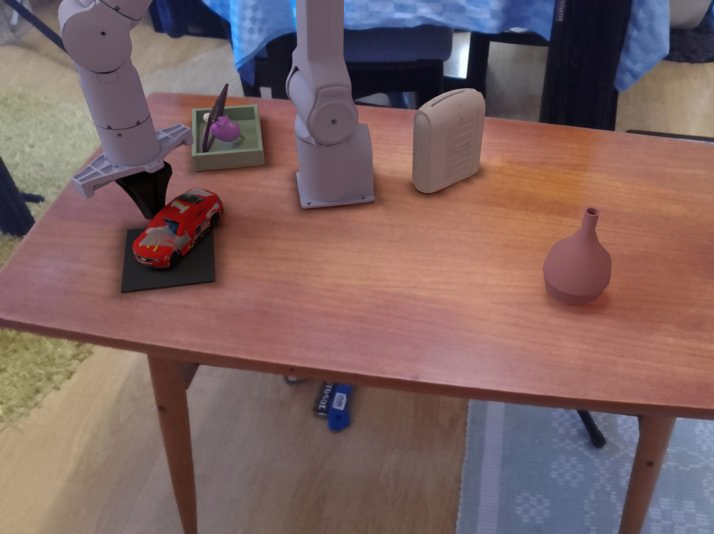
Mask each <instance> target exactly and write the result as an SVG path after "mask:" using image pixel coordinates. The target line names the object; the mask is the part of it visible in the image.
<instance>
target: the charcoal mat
mask: <svg viewBox="0 0 714 534" xmlns="http://www.w3.org/2000/svg"><path fill="white" fill-rule="evenodd" d="M146 228H147V227H139V228H130V229H126V238H125V245H124V246H125V247H124V255H123V265H122V276H121V283H120V293H121V294H122V293H130V292H131V293H133V292H139V291H148V290H157V289H166V288H171V287H172V288H173V287H182V286H190V285H199V284H206V283H215V251H214V249H215V246H214V243H215V242H214V228H212V227H211V229H210V230H209V231H208V232H207V233H206V234H205V235H204V236H203V237H202V238H201V239H200V240H199V241H198V242H197V243H196V244H195V245H194V246H193V247H192V248H191V249H190V250H189V251H188V252H187V253H186V254H185V255H184V256H182V255H181V260H180V262H179V264H178V265H176V266H171V265H170V267H166V268H149V267H145V266H143V265H141V264H140V263H139V262H138V261H137V260H136V257H135V255H134V252H133V243H134V241H135V240H136V239H137V238H138V237H139V236H140V235H141V234H142V233H143V232H144V230H145V229H146Z"/></svg>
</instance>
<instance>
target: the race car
mask: <svg viewBox="0 0 714 534" xmlns="http://www.w3.org/2000/svg"><path fill="white" fill-rule="evenodd" d="M224 213H225V208H224V204H223V201H222V200H221V198H220V196H219V195H218V194H217V193H215V192H213V191H210V190H207V189H204V188H199V187H197V188H196V187H195V188H191V189H189V190H187V191H185V192H182V193H180V194H179V195H177V196H176V197H174V198H173V199H171V200H170V201H169V202H168V203H166V204H165V207H164V208H163V209H162V210H161V211H160V212H159V213H158V214H157V215H156V216H155V217H154V218H153V220H151V219H146V221H147V222H148V223H149V224H148V226H146V227H145V228H146V229H145V230H144V232H143V233H142V234H141V235H140V236H139V237H138V238H137V239H136V240H135V241H134V243H133V252H134V255H135V257H136V260H137V261H138V262H139V263H140V264H141V265H143V266H145V267H149V268H166V267H170V265H171V266H176V265H178V264H179V262H180V260H181V255H182V256H184V255H185V254H186V253H187V252H188V251H189V250H190V249H191V248H192V247H193V246H194V245H195V244H196V243H197V242H198V241H199V240H200V239H201V238H202V237H203V236H204V235H205V234H206V233H207V232H208V231H209V230H210V229H211V227H212V228H213V229H214V228H216V227H218V225H219V222H220V219H222V218H223V216H224Z"/></svg>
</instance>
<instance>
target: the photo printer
mask: <svg viewBox="0 0 714 534" xmlns="http://www.w3.org/2000/svg"><path fill="white" fill-rule="evenodd" d="M486 108H487V107H486V100H485V98H484V96H483V93H482V92H481V91H477V90H476V89H475V88H468V87H467V88H466V87H465V88H457V89H453V90H450V91H447V92H444V93H441V94H439V95H438V96H435V97H433V98H432V99H430V100H429V101H427V102H425V103H424V104H422V105H421V106H420V107H419V108H418V109H417V110H416V112H415V113H414V116H413V130H412V131H413V132H412V133H413V134H412V136H413V137H412V162H411V163H412V167H411V170H412V171H411V179H412V183H413V186H414V188H415V189H416V190H417V191H419V192H421V193H423V194H432V193H435V192H438V191H440V190H443V189H445V188H447V187H449V186H451V185H454V184H456V183H458V182H461V181H463V180H465V179H467V178H469V177H471V176H473V175H475V174H477V173H478V171H479V169H480V163H481V154H482V145H483V136H484V135H483V134H484V127H485V116H486Z"/></svg>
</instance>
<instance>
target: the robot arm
mask: <svg viewBox="0 0 714 534" xmlns="http://www.w3.org/2000/svg"><path fill="white" fill-rule="evenodd" d="M153 1H154V0H62V1H61V3H60V4H59V6H58V9H57V10H58V11H57V19H58V21H57V24H58V26H59V30H60V35H61V41H62V44H63V47H64V49H65V51H66V53H67V55H68V56H69V58H70V59H71V60H72V64H73V67H74V70H75V71H76V74H78V78H77V79H78V83H79V87H80V89H81V91H82V95H83V97H84V100H85V103H86V105H87V109H88V111H89V114H90V117H91V120H92V122H93V124H94V125H93V126H94V128H95V130H96V133H97V135H98V138H99V141H100V144H101V146H102V149H103V151H102V152H101V153H100V154H99V155H98V156H96V157H95V158H94V159H93V160H92V161H91V162H90V163H88V164H87V165H86V166H85V167H84V168H83V169H82V170H80V171H79V172H77V173H76V174H74V175H72V176H70V178H69V179H70V182H71V183H72V186H73V188H74V190H75V193H77V194H78V195H80V196H81V197H83V198H84V199H86V200H88V199H91V198H92V197H94V196H95V195H96V193H95V192H96V191H97V190H99V189H102V188H103V187H106V186H107V185H110V184H111V183H113V182H114V183H116V184H117V186H119V187H120V188H121V189H122V190H123V191H124V192H125V193H126V194H127V195H128V196H129V198H130V199H131V200H132V201H133V202H134V204H135V205H136V206H137V208H138V209H139V211H140V212H141V214H142V216H143V218H144V219H146V220H147V219H151V220H153V218H154V217H155V216H156V215H157V214H158V213H159V212H160V211H161V210H162V209H163V208H164V207H165V206H166V198H167V192H168V191H167V190H168V186H169V183H170V180H171V178H172V175H173V172H174V171H173V167H172V165H171V163H169V162H168V161H165V160H164V159H165V158H167V156H168V155H169V154H170V153H172V152H173V151H174V150H176V149H179V147H181V146H183V145H184V146H186V147H189V146H192V144H193V143H194V140H193V136H192V128H191V127H188V126H187V125H184V124H182V123H181V122H178V123H176V124H174V125H171V126H169V127H164V128H161V129H158V130H156V129H155V126H154V122H153V118H152V114H151V111H150V108H149V105H148V102H147V99H146V95H145V91H144V88H143V84H142V81H141V78H140V74H139V72H138V70H137V68H136V67H135V66H134V65H133V62H132V58H131V56H132V52H133V43H132V42H133V41H132V38H131V31H132V30H133V29H134V28H136V27H137V26H138V25H139V24H140V22H141V20H142V18H143V17H144V16H145V14H146V12H147V11H148V9H149V8H150V5H151V4H152V2H153ZM295 12H296V13H295V19H296V47H295V49H294V50H293V51H292V55H291V58H292V59H291V60H292V64H291V69H290V71H289V73H288V76H287V77H286V81H285V92H286V96H287V97H288V100H289V101H290V103H292V105H293V106H294V107H295V109H296V111H297V113H296V117H295V120H294V123H293V129H294V138H295V146H296V147H295V148H296V154H297V163H298V169H299V170H298V171H296V172H295V175H296V181H297V188H298V194H299V200H300V206H301V208H302V209H303V210H307V209H316V208H317V209H318V208H325V207H326V208H327V207H337V206H344V205H345V206H347V205H356V204H366V203H373V202H375V201H376V200H375V199H376V197H375V188H374V186H375V185H374V175H375V173H374V156H373V155H374V154H373V145H372V144H373V143H372V139H371V132H370V129H369V125H368V123H363V122H362V123H360V122H359V117H360V115H359V111H358V108H357V106H356V104H355V102H354V100H353V97H352V96H353V95H352V94H353V93H352V82H351V78H350V75H349V74H350V73H349V71H348V67H347V64H346V61H345V56H344V43H345V42H344V41H345V40H344V36H345V35H344V34H345V33H344V32H345V31H344V29H345V0H295Z"/></svg>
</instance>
